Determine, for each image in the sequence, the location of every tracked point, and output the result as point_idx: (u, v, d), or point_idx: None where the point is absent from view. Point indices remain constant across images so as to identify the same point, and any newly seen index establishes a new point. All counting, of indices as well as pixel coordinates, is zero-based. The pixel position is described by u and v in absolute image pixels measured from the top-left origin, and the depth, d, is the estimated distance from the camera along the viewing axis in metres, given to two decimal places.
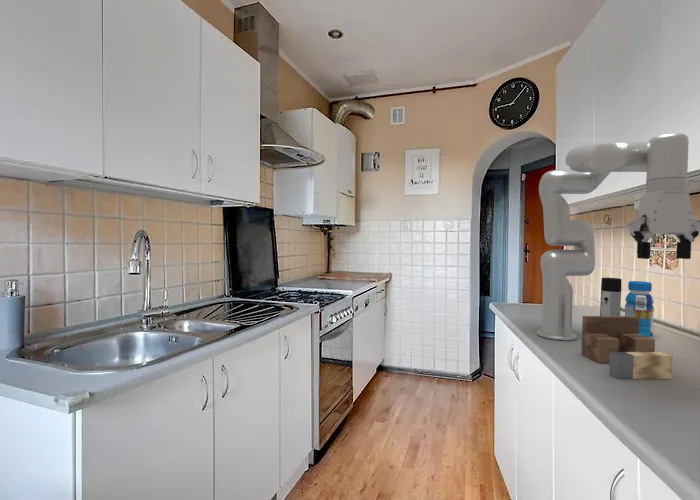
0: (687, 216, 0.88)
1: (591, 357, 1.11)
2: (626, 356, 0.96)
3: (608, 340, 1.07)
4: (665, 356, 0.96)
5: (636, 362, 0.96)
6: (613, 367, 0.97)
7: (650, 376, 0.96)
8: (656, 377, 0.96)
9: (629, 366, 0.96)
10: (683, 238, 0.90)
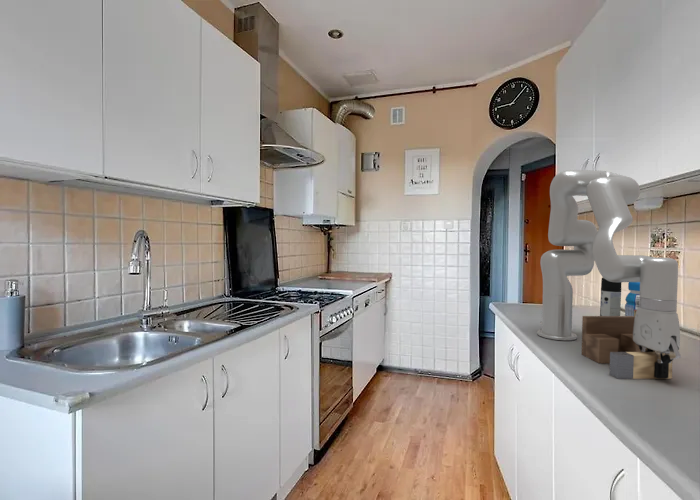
0: None
1: (591, 357, 1.11)
2: (626, 356, 0.96)
3: (608, 340, 1.07)
4: None
5: (636, 362, 0.96)
6: (613, 367, 0.97)
7: (650, 376, 0.96)
8: None
9: (629, 366, 0.96)
10: None
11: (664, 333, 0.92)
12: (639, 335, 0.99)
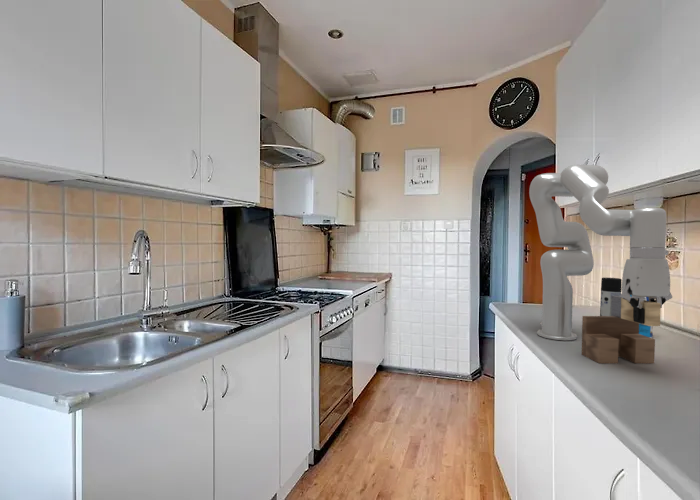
0: (666, 281, 0.98)
1: (591, 357, 1.11)
2: (616, 297, 1.09)
3: (608, 340, 1.07)
4: (644, 303, 0.99)
5: (623, 304, 1.07)
6: None
7: (632, 319, 1.03)
8: None
9: (618, 306, 1.09)
10: None
11: (623, 276, 1.02)
12: None
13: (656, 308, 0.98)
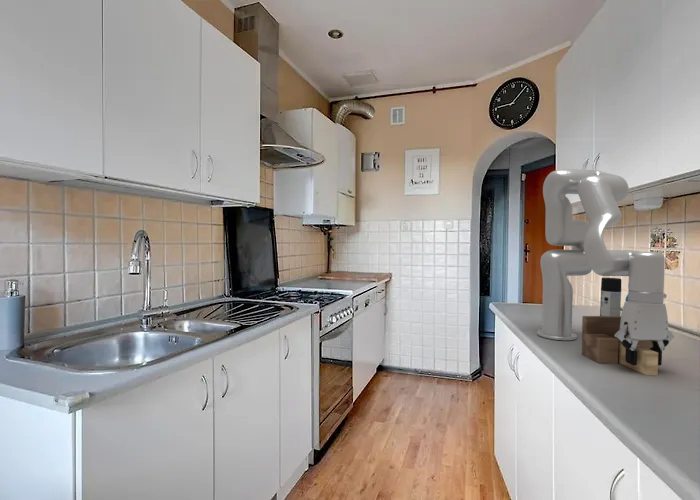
0: (664, 325, 0.99)
1: (591, 357, 1.11)
2: None
3: (608, 340, 1.07)
4: (641, 351, 1.00)
5: (621, 348, 1.07)
6: None
7: (630, 365, 1.04)
8: (635, 368, 1.02)
9: None
10: (656, 345, 1.02)
11: (621, 318, 1.03)
12: None
13: (654, 357, 0.98)
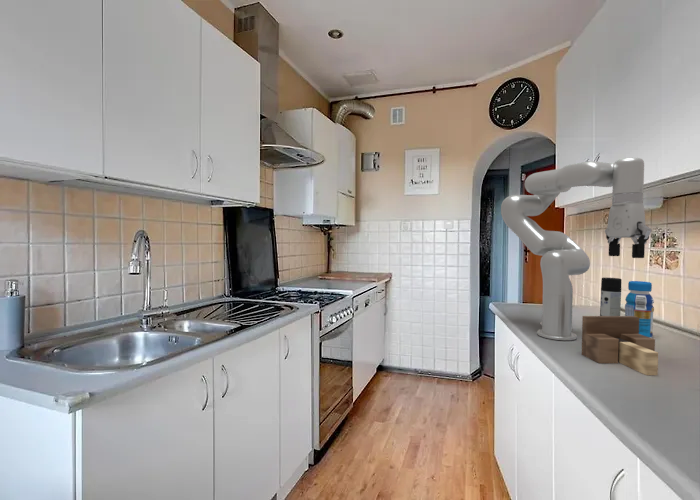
0: None
1: (591, 357, 1.11)
2: None
3: (608, 340, 1.07)
4: (641, 351, 1.00)
5: (621, 348, 1.07)
6: None
7: (630, 365, 1.04)
8: (635, 368, 1.02)
9: None
10: (613, 240, 1.18)
11: (631, 220, 1.08)
12: (612, 228, 1.15)
13: (654, 357, 0.98)
